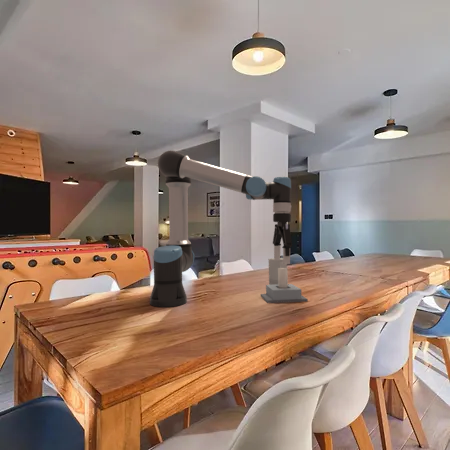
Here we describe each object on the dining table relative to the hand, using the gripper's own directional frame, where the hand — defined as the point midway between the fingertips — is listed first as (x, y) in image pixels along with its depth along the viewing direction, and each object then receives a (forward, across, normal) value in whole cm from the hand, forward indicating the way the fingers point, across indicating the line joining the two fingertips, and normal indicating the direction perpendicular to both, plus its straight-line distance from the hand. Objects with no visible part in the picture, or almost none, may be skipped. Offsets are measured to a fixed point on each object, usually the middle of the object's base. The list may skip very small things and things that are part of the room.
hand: (281, 262), depth 131 cm
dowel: (+15, 0, -1) cm, 15 cm away
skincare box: (+16, +18, -4) cm, 24 cm away
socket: (+16, 0, -1) cm, 16 cm away
